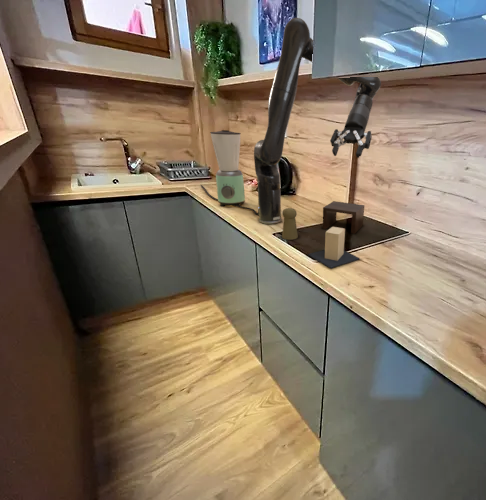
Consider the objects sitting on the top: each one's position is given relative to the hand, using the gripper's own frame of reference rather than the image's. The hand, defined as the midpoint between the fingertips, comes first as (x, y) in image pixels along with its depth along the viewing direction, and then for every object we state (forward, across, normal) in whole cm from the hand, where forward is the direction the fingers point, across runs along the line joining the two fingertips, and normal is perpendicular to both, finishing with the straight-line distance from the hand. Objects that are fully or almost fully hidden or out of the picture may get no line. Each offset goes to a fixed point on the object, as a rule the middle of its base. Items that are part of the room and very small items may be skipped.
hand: (345, 155), depth 106 cm
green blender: (+8, +66, -35) cm, 75 cm away
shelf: (+14, +3, -29) cm, 32 cm away
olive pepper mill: (+29, +17, -15) cm, 36 cm away
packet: (+35, -5, -7) cm, 36 cm away
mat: (+36, -5, -7) cm, 37 cm away
